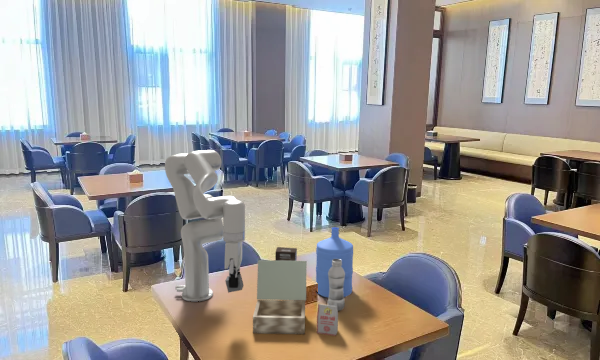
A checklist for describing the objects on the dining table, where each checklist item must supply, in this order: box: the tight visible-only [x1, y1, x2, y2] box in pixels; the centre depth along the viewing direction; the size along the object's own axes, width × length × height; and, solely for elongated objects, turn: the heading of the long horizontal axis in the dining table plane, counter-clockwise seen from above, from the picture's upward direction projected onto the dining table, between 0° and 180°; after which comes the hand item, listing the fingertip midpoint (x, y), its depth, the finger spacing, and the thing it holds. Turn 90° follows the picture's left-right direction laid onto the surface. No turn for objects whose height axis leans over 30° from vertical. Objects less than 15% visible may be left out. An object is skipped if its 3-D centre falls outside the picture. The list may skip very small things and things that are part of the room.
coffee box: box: [274, 246, 298, 261], centre depth 199 cm, size 9×6×16 cm
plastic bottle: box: [327, 259, 346, 312], centre depth 175 cm, size 6×7×20 cm
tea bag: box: [316, 303, 339, 337], centre depth 158 cm, size 4×7×10 cm, turn 74°
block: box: [224, 273, 244, 294], centre depth 161 cm, size 5×4×4 cm
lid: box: [256, 259, 308, 301], centre depth 172 cm, size 19×15×1 cm
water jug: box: [315, 226, 354, 299], centre depth 191 cm, size 16×16×28 cm
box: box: [252, 299, 306, 335], centre depth 164 cm, size 18×14×6 cm
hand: (234, 284), depth 161 cm, fingers closed on block, 4 cm apart
